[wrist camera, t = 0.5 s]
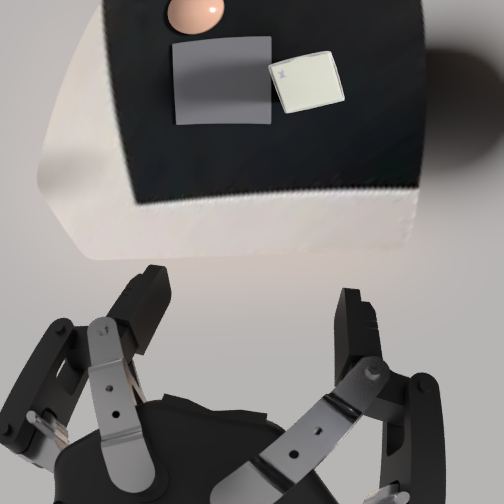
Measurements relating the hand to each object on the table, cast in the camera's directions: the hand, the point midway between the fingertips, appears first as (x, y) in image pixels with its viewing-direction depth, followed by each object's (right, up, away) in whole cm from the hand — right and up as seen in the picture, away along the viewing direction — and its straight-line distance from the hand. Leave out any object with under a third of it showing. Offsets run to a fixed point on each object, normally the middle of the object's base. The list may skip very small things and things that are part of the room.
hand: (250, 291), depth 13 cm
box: (+6, +22, +17) cm, 28 cm away
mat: (-4, +22, +18) cm, 29 cm away
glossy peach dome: (-7, +31, +13) cm, 34 cm away
